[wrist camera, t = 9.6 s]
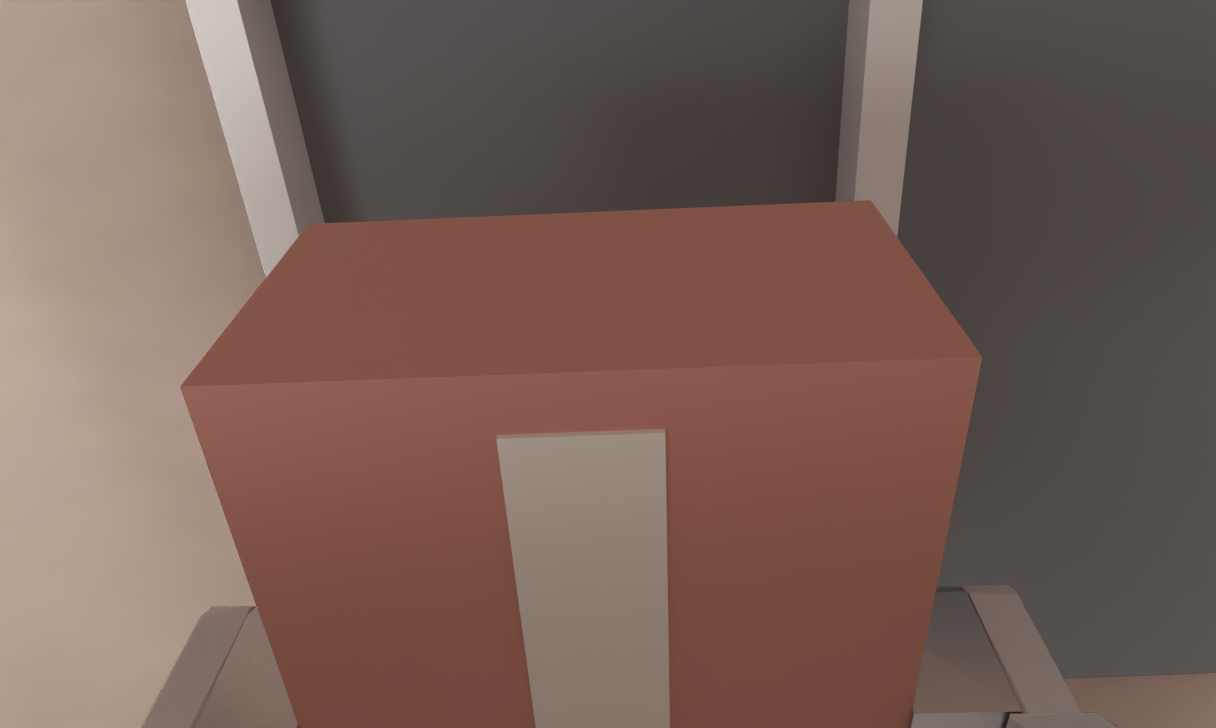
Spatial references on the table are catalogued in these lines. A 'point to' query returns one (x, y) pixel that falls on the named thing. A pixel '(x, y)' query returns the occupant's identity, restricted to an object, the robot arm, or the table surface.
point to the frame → (281, 172)
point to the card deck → (593, 467)
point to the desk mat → (928, 229)
